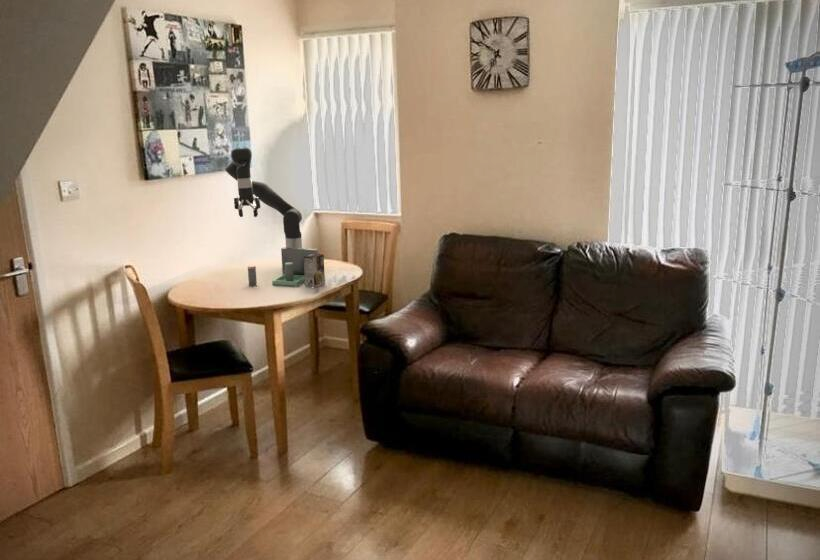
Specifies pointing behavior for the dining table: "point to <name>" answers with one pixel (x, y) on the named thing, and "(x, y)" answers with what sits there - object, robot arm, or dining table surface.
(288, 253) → the label unit
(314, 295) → the dining table surface
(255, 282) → the terracotta-capped canister
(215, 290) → the dining table surface
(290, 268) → the green-capped canister
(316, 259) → the coffee box
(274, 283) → the green tray
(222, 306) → the dining table surface
